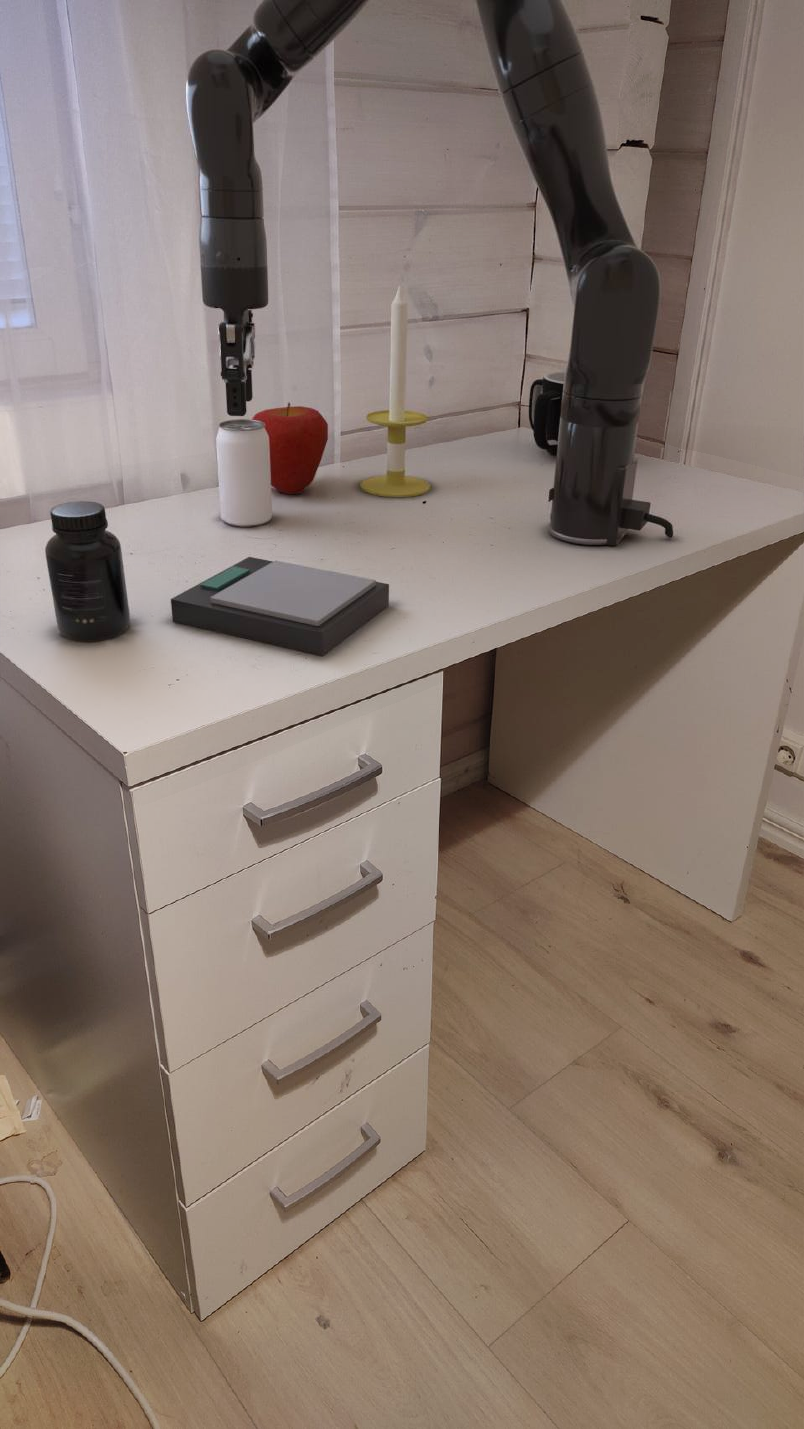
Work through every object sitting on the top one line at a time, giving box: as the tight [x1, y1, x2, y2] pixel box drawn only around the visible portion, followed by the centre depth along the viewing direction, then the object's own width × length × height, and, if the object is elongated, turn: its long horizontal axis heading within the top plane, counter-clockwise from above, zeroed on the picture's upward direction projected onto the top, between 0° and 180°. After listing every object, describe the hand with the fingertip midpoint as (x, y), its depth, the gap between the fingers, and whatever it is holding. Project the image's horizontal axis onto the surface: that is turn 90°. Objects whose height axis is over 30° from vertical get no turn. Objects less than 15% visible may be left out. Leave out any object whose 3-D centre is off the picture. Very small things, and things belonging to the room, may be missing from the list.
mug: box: [528, 370, 565, 457], centre depth 160 cm, size 16×16×12 cm
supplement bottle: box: [44, 500, 131, 642], centre depth 95 cm, size 7×7×12 cm
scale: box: [170, 556, 390, 657], centre depth 101 cm, size 17×14×3 cm
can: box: [215, 418, 273, 528], centre depth 126 cm, size 6×6×12 cm
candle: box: [359, 281, 431, 498], centre depth 137 cm, size 10×10×27 cm
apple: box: [250, 401, 329, 495], centre depth 138 cm, size 11×11×12 cm
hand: (240, 407), depth 122 cm, fingers open, 8 cm apart
